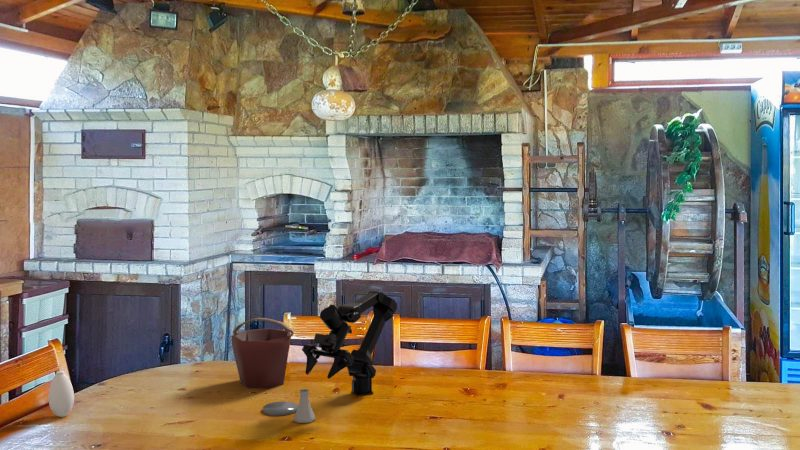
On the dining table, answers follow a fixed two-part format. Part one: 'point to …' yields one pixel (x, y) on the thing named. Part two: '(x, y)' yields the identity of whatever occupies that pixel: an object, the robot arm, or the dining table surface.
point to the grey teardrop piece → (61, 394)
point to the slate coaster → (280, 408)
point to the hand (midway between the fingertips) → (317, 376)
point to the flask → (304, 408)
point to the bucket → (262, 354)
